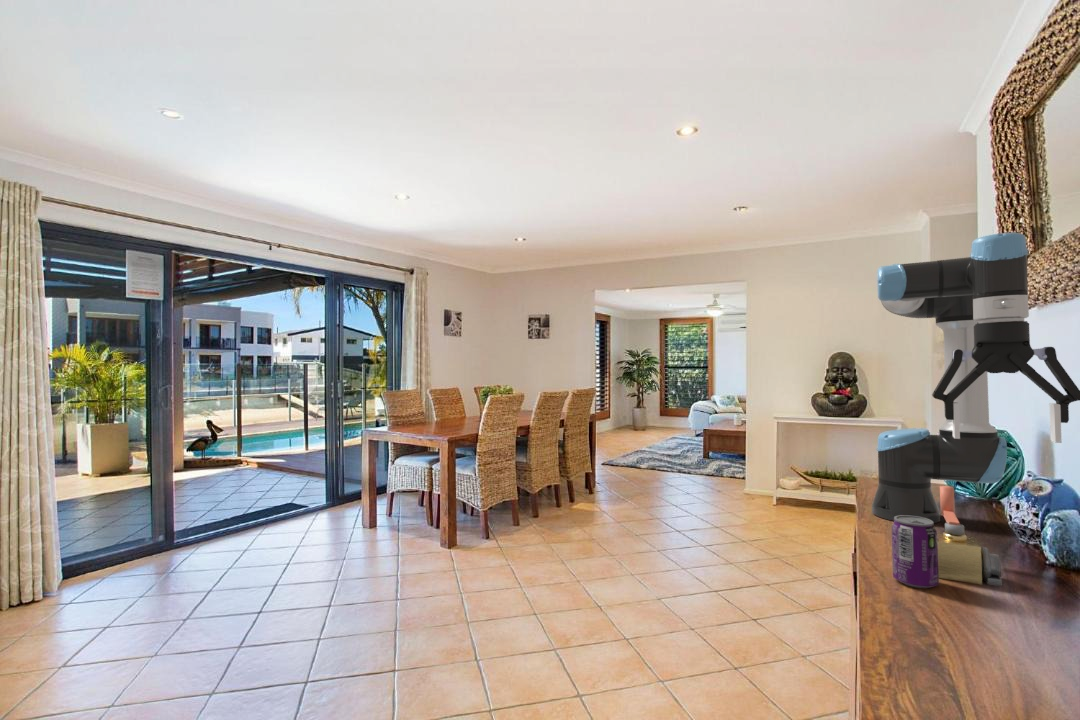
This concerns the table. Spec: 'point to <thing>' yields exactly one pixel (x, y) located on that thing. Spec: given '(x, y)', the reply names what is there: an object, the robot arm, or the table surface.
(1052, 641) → the table surface
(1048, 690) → the table surface
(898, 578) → the beverage can
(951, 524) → the lever
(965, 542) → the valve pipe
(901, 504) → the robot arm
